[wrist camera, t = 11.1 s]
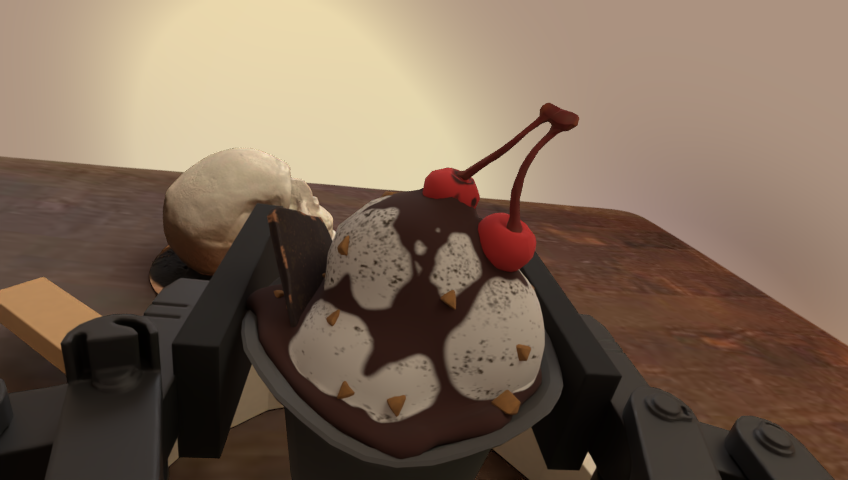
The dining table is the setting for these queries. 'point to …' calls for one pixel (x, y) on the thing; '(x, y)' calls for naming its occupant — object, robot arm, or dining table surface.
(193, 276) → the skull
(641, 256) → the dining table surface
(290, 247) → the sundae
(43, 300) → the pan
